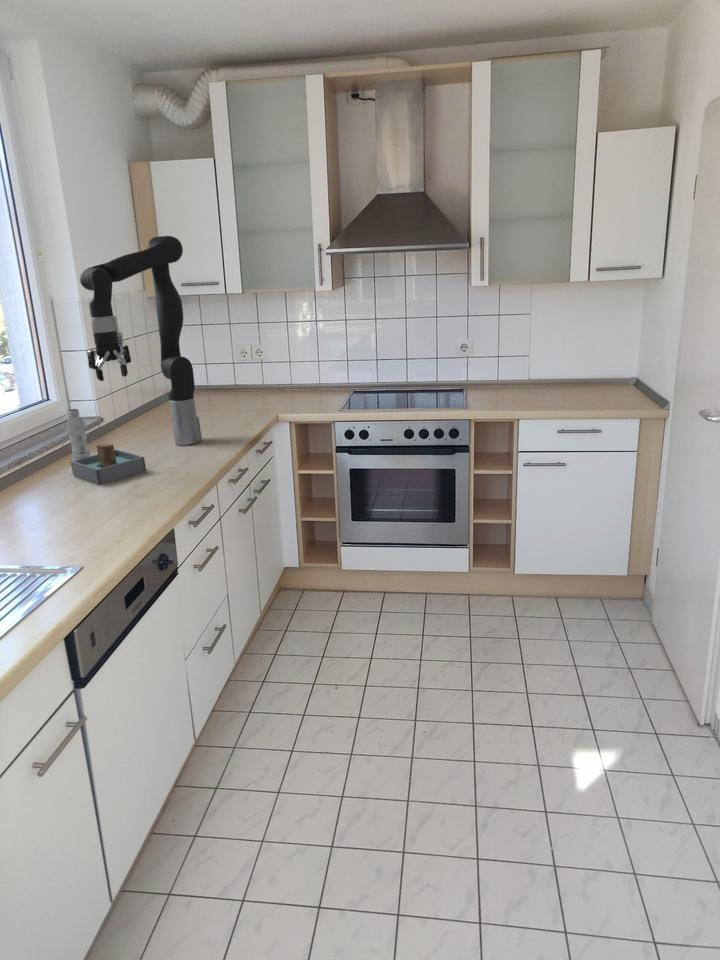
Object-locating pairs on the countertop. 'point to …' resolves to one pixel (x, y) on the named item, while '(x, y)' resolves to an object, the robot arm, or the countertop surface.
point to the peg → (106, 455)
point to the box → (108, 467)
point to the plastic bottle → (77, 435)
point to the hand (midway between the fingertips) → (113, 378)
